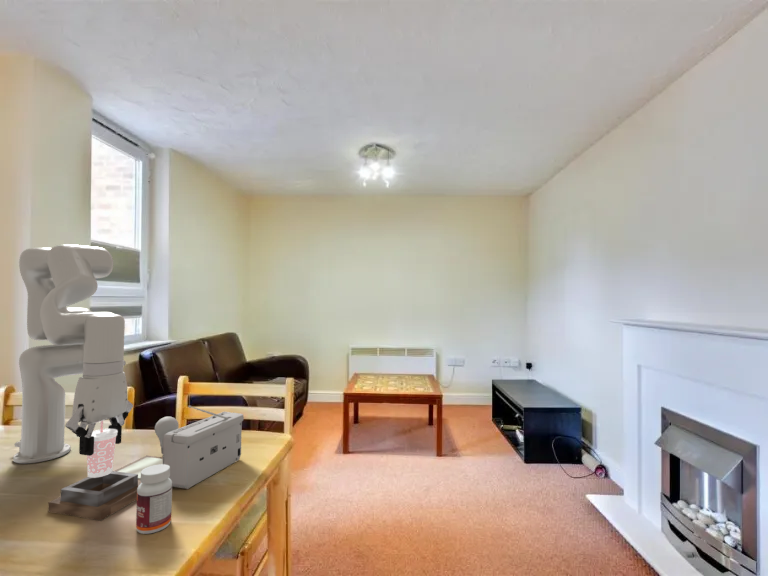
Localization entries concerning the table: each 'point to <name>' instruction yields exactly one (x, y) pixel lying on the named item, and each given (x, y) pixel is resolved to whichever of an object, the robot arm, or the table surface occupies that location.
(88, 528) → the table surface
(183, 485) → the stereo radio cassette player
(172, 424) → the lightbulb
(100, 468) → the beverage cup
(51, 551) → the table surface
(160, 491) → the pill bottle
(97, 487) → the socket board
